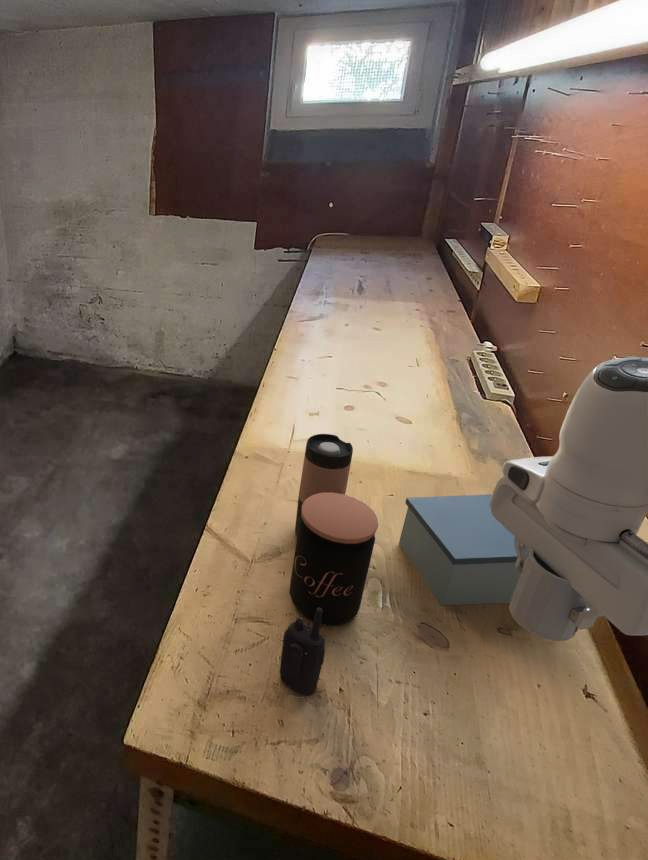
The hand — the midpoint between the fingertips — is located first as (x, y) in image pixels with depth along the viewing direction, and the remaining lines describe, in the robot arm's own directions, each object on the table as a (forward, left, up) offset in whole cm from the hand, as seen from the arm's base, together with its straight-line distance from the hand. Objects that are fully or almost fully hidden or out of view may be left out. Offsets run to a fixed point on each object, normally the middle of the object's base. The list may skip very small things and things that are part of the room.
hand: (550, 595), depth 67 cm
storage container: (-2, -24, -19) cm, 31 cm away
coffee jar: (+22, -12, -19) cm, 32 cm away
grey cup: (0, 0, -4) cm, 4 cm away
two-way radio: (+27, +4, -19) cm, 34 cm away
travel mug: (+22, -28, -19) cm, 41 cm away
